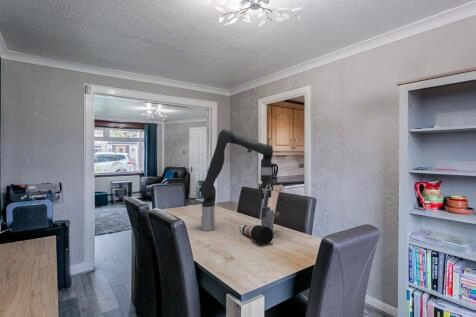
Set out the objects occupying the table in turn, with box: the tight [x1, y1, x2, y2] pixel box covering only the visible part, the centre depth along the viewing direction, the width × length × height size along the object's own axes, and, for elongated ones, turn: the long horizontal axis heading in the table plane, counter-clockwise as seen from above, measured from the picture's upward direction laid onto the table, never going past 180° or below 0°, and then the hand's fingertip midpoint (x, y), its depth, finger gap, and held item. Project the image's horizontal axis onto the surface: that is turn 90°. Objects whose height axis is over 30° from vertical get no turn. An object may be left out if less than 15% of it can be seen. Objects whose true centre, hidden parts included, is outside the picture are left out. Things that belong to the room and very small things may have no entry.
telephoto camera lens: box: [238, 224, 274, 245], centre depth 172 cm, size 10×34×10 cm, turn 24°
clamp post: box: [260, 209, 275, 238], centre depth 173 cm, size 7×4×18 cm, turn 51°
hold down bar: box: [261, 206, 281, 220], centre depth 179 cm, size 4×17×8 cm, turn 140°
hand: (266, 198), depth 174 cm, fingers open, 8 cm apart
